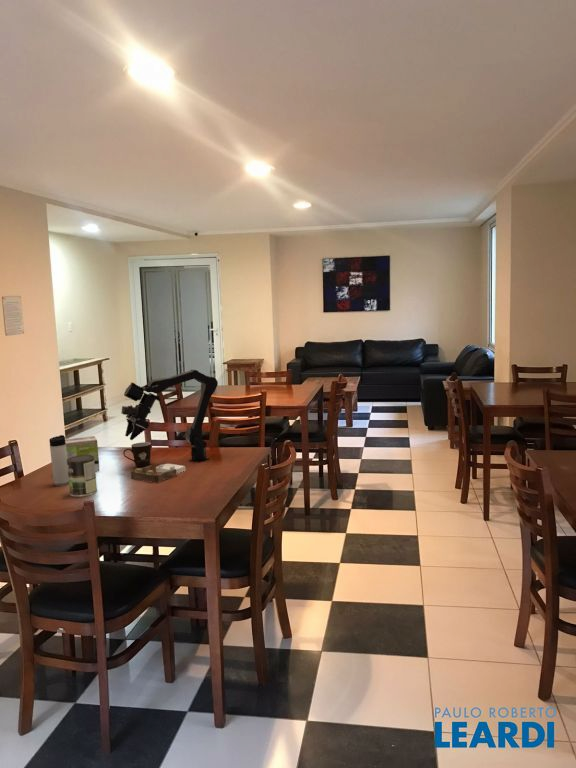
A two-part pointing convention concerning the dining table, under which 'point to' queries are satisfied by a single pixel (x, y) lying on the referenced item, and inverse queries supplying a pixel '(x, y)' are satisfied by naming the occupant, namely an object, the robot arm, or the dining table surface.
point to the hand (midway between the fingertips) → (128, 437)
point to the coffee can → (82, 475)
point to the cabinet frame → (151, 474)
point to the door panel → (170, 468)
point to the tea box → (83, 448)
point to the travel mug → (59, 460)
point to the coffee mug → (140, 454)
